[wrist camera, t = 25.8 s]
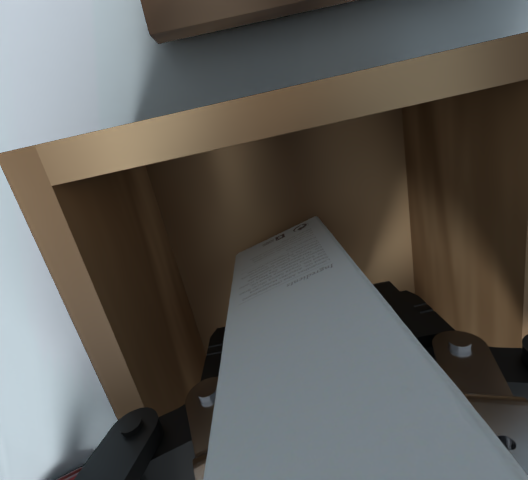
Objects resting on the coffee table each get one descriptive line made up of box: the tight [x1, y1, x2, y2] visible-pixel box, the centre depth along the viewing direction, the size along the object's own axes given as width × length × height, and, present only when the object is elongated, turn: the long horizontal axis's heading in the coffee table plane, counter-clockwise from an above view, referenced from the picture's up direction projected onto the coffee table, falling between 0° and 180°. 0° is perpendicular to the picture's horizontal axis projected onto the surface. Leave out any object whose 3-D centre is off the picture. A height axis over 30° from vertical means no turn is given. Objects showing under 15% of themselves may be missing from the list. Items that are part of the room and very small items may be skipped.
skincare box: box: [203, 216, 528, 480], centre depth 9 cm, size 6×4×12 cm
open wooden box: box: [0, 32, 528, 420], centre depth 14 cm, size 14×16×8 cm
